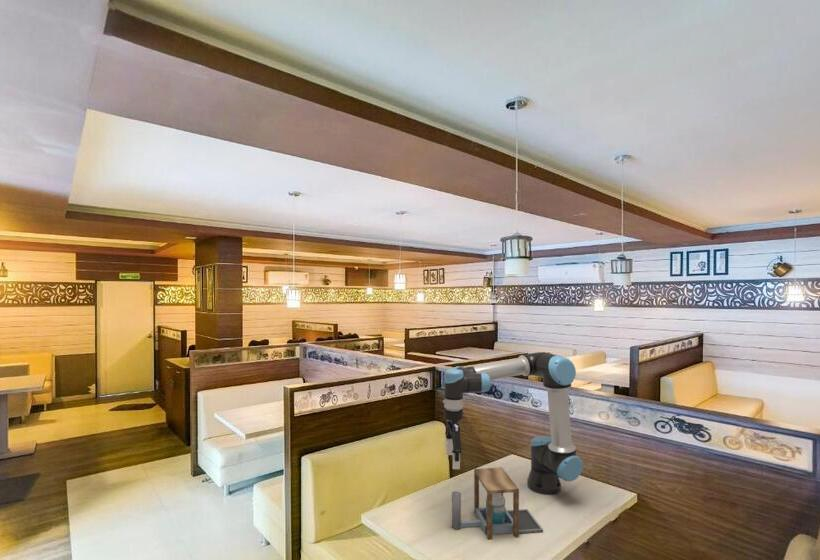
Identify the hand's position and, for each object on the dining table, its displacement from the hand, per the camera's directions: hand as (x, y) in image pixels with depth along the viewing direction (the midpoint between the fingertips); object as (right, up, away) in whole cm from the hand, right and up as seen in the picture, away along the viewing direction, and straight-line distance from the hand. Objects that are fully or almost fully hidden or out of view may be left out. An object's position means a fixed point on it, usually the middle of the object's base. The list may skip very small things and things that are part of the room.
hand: (452, 461), depth 169 cm
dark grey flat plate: (+28, -24, 0) cm, 37 cm away
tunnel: (+17, -24, -2) cm, 30 cm away
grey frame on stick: (+11, -24, -2) cm, 27 cm away
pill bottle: (+17, -25, -2) cm, 30 cm away
